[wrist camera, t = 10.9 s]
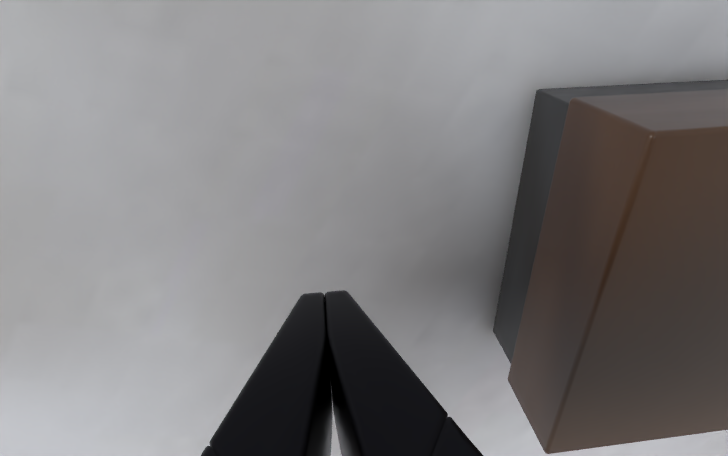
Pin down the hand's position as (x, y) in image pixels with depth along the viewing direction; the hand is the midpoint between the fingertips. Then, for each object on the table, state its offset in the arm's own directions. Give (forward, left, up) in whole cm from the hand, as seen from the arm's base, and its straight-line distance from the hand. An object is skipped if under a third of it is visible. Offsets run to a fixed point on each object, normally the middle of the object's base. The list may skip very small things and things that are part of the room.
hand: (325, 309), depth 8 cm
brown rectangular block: (+4, +5, -2) cm, 7 cm away
